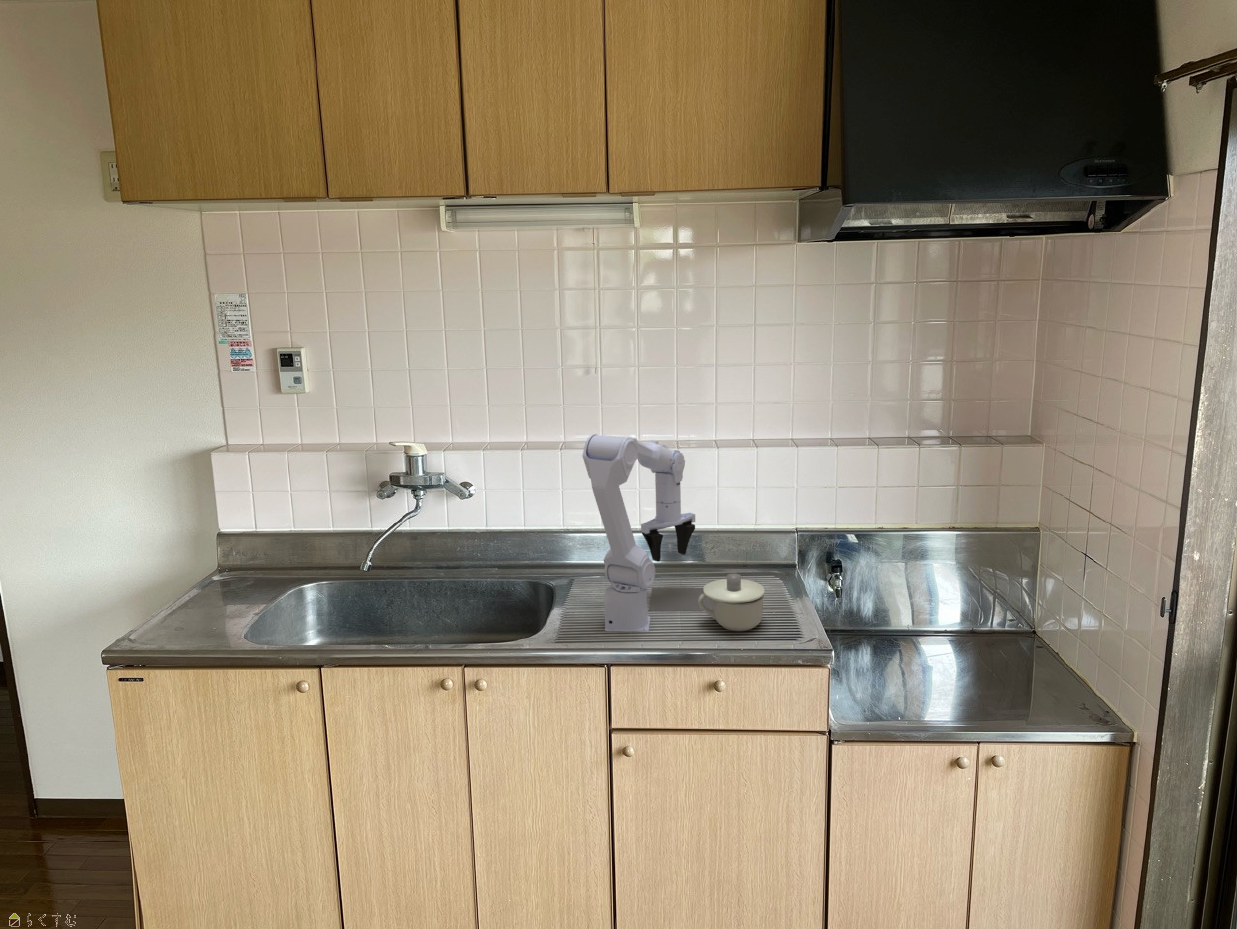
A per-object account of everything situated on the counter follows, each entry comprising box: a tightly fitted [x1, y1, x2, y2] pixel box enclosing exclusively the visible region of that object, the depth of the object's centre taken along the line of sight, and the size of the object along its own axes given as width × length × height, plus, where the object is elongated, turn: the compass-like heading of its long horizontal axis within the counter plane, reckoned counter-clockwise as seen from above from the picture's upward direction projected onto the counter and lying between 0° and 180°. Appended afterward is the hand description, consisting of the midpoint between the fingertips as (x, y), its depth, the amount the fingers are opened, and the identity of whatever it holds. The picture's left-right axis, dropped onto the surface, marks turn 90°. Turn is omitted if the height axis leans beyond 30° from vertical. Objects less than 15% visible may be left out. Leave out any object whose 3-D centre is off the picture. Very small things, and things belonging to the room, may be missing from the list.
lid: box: [703, 573, 765, 603], centre depth 197 cm, size 13×13×4 cm
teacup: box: [698, 593, 765, 632], centre depth 198 cm, size 14×11×8 cm
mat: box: [648, 587, 714, 612], centre depth 215 cm, size 15×15×1 cm
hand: (669, 556), depth 214 cm, fingers open, 7 cm apart
